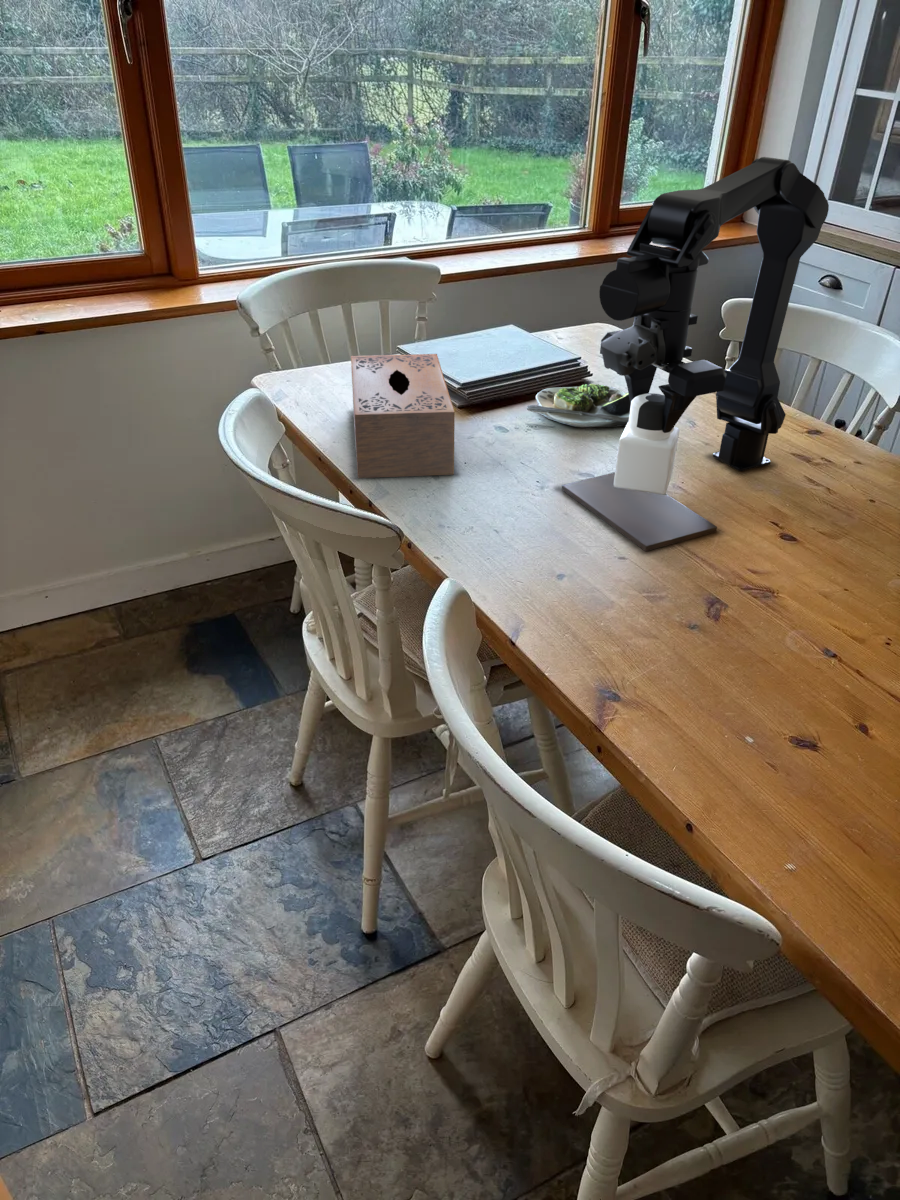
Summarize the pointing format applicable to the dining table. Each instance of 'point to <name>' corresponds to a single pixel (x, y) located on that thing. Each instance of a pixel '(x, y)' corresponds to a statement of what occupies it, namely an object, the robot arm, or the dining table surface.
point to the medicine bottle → (646, 448)
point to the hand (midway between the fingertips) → (651, 423)
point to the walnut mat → (639, 512)
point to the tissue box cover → (402, 416)
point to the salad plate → (584, 405)
